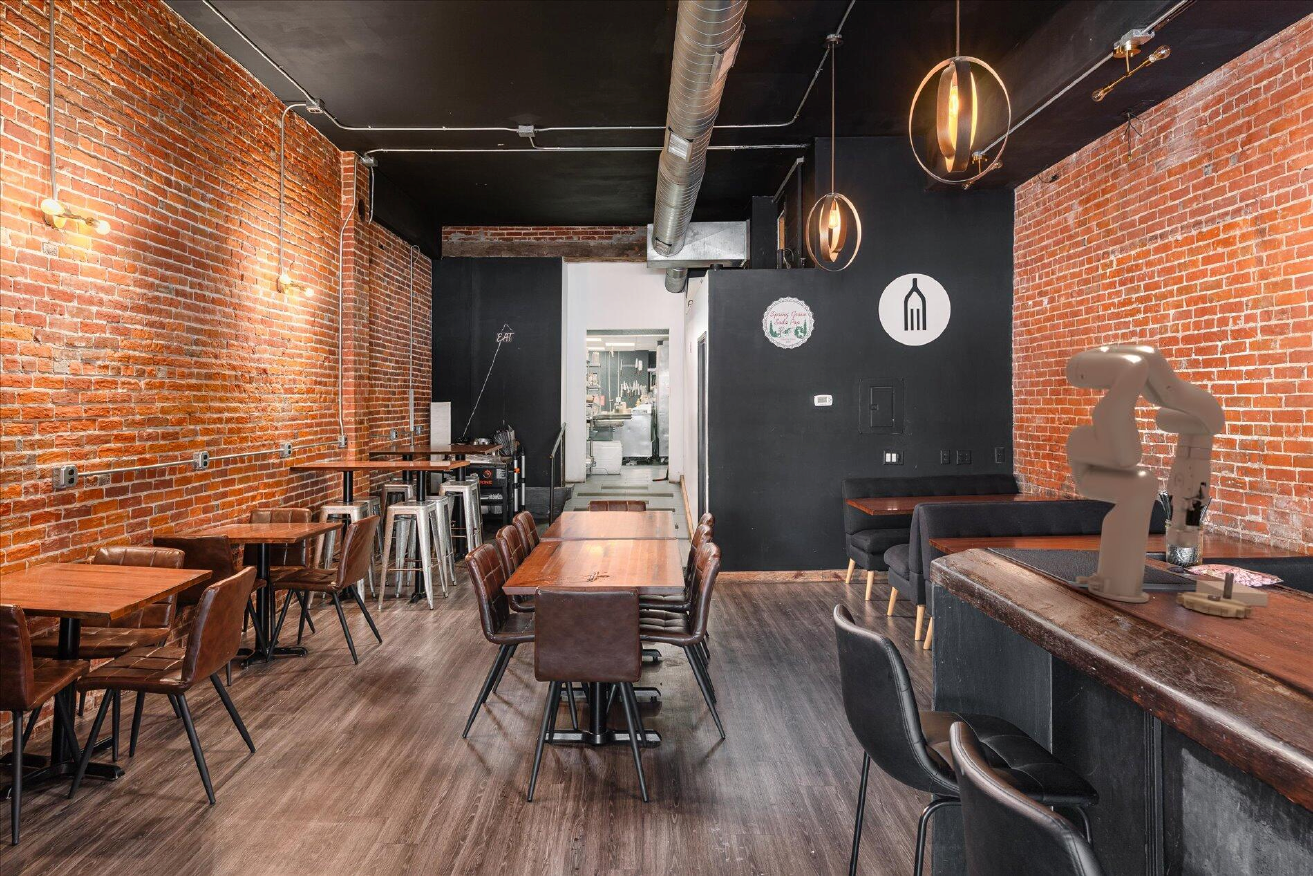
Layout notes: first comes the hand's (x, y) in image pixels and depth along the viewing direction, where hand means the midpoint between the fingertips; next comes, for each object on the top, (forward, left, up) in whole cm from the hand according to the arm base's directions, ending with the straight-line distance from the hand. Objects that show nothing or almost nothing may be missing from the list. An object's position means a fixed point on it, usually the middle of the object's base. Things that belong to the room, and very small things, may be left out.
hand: (1184, 523), depth 196 cm
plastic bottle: (0, 0, -7) cm, 7 cm away
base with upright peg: (-7, -24, -16) cm, 29 cm away
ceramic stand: (+5, -13, -16) cm, 21 cm away
